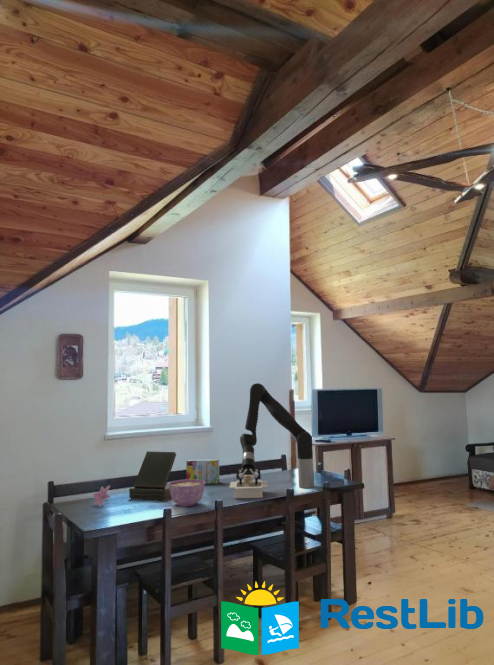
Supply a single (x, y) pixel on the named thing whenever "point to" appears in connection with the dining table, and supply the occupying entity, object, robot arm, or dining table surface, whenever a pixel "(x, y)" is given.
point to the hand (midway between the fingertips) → (248, 484)
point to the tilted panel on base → (153, 477)
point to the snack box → (204, 470)
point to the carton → (248, 489)
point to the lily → (101, 495)
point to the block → (248, 480)
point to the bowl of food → (186, 491)
